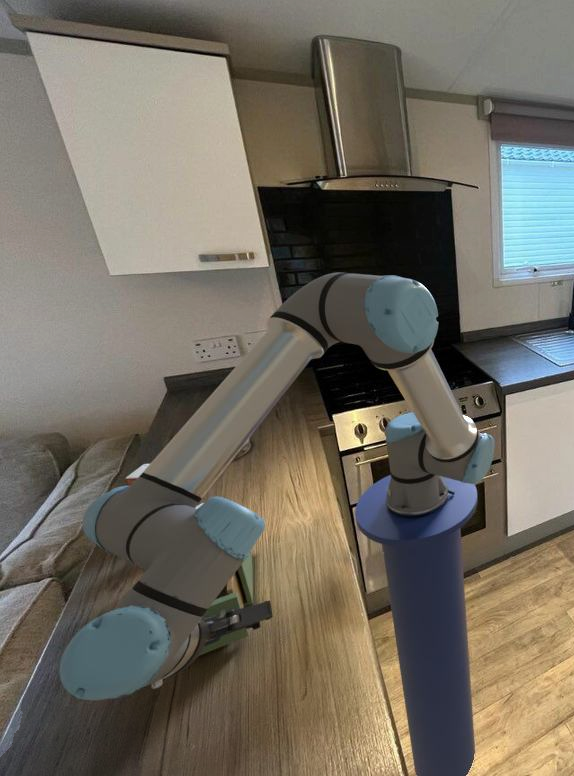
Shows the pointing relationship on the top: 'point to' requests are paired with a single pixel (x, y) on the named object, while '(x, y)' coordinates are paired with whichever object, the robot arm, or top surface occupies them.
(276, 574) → the top surface
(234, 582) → the drawer
